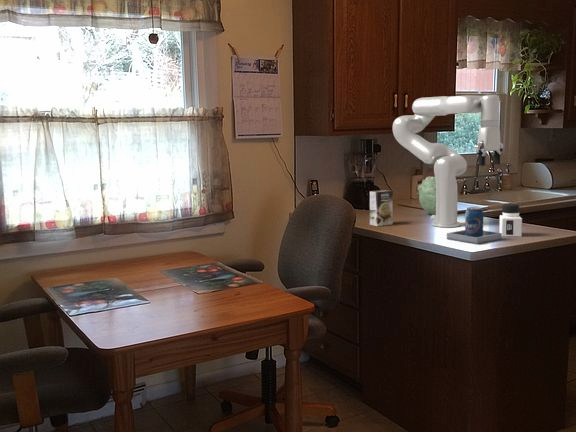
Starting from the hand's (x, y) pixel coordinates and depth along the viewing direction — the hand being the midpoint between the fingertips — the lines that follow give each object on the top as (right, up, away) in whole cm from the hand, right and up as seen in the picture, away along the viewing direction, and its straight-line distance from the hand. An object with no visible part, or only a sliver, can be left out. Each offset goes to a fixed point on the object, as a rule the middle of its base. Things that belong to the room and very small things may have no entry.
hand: (489, 164), depth 264 cm
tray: (-11, -31, -16) cm, 37 cm away
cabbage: (-10, -22, +51) cm, 56 cm away
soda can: (-11, -31, -16) cm, 37 cm away
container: (+6, -30, -9) cm, 32 cm away
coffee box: (-42, -26, +27) cm, 56 cm away
